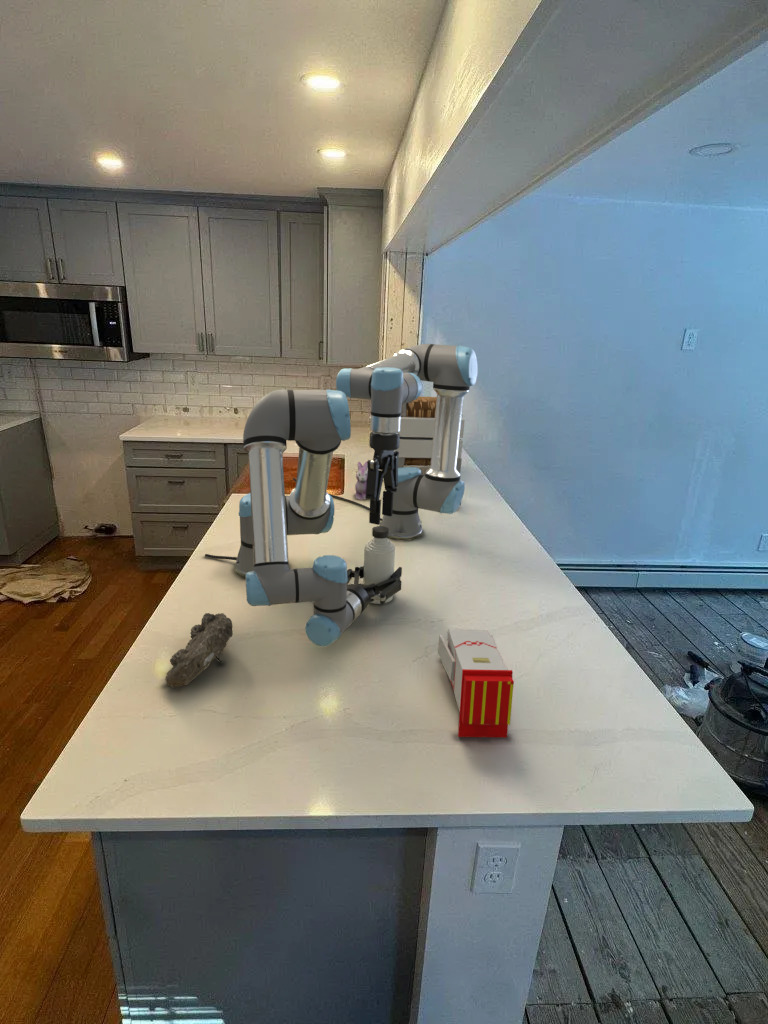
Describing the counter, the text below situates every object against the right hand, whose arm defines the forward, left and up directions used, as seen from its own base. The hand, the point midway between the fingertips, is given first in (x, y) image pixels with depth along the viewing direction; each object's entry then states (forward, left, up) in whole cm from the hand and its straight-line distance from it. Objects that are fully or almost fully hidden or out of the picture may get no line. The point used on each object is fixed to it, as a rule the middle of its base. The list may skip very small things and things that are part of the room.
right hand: (380, 519), depth 148 cm
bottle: (0, 0, -23) cm, 23 cm away
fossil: (0, -50, -23) cm, 55 cm away
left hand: (-2, +4, -16) cm, 17 cm away
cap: (0, 0, -3) cm, 3 cm away
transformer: (-84, +97, -23) cm, 130 cm away
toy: (+43, -11, -23) cm, 50 cm away
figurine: (-70, +51, -23) cm, 89 cm away
